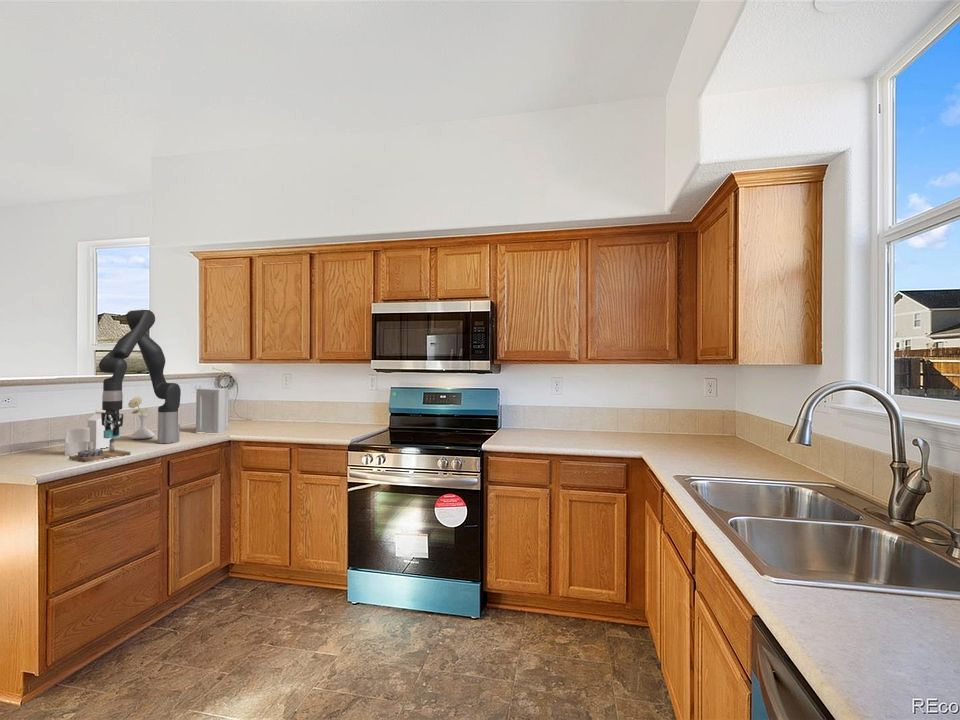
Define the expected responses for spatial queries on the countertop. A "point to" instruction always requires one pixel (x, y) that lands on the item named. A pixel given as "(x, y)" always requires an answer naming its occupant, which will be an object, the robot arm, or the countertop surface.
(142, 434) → the flower in vase
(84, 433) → the base with upright slab
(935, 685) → the countertop surface
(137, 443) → the countertop surface
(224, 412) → the grey box
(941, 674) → the countertop surface
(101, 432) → the milk carton
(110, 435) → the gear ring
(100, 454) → the gear board
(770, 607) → the countertop surface
